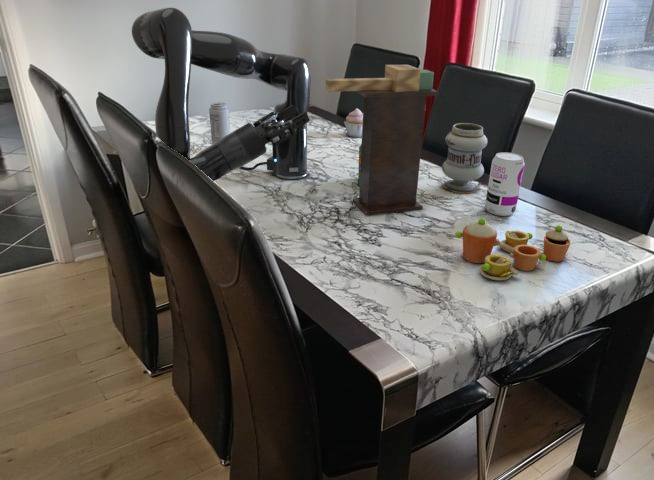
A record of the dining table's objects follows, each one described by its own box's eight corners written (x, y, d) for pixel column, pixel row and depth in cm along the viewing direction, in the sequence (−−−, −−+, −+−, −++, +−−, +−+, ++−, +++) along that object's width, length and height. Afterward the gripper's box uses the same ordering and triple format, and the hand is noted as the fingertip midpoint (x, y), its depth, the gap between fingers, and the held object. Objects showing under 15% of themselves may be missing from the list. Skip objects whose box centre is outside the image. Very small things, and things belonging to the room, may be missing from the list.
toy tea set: (492, 287, 117) (500, 244, 112) (444, 256, 128) (450, 216, 124) (578, 262, 130) (589, 222, 125) (528, 236, 141) (536, 198, 136)
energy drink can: (234, 152, 188) (231, 105, 181) (216, 154, 185) (212, 106, 178) (227, 147, 192) (223, 101, 185) (209, 149, 189) (205, 102, 182)
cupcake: (353, 130, 220) (354, 104, 215) (373, 135, 216) (374, 108, 211) (338, 135, 214) (338, 107, 209) (358, 140, 209) (359, 112, 204)
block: (417, 90, 139) (419, 72, 137) (410, 86, 143) (411, 69, 141) (432, 89, 141) (434, 72, 139) (424, 86, 144) (426, 69, 142)
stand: (361, 216, 146) (367, 94, 132) (347, 202, 154) (351, 85, 140) (427, 208, 153) (440, 92, 139) (410, 195, 161) (420, 84, 147)
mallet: (332, 93, 130) (332, 70, 128) (322, 87, 136) (322, 65, 133) (418, 91, 138) (420, 69, 136) (405, 85, 144) (407, 64, 141)
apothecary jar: (431, 186, 169) (438, 124, 160) (455, 178, 177) (463, 118, 168) (465, 198, 162) (474, 134, 153) (488, 188, 170) (498, 127, 161)
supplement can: (516, 208, 157) (527, 154, 150) (513, 219, 150) (523, 162, 143) (487, 203, 159) (495, 150, 152) (482, 213, 152) (491, 158, 145)
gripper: (240, 140, 123) (305, 103, 125) (225, 125, 134) (284, 92, 136) (257, 170, 127) (319, 133, 130) (240, 153, 138) (298, 120, 141)
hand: (301, 112), depth 133 cm, fingers open, 8 cm apart
